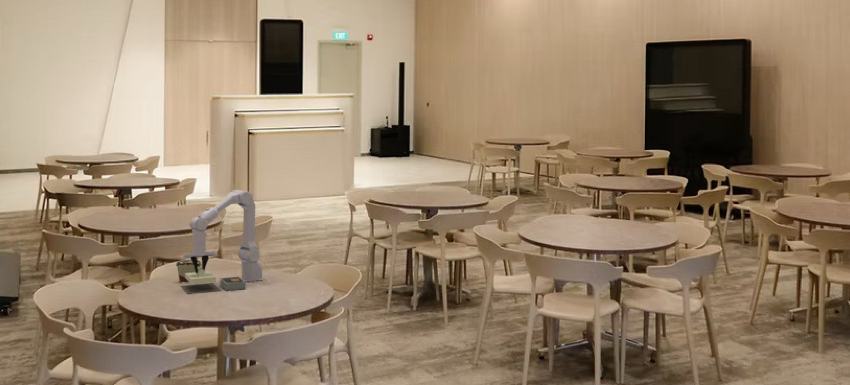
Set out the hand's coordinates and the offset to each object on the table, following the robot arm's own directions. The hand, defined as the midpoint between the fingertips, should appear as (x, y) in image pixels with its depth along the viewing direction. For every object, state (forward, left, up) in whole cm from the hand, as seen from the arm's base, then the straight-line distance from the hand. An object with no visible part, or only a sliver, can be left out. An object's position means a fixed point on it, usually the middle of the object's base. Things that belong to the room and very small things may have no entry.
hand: (200, 272), depth 430 cm
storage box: (-14, +4, -8) cm, 16 cm away
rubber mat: (0, 0, -8) cm, 8 cm away
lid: (0, 0, -3) cm, 3 cm away
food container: (+1, -18, -8) cm, 20 cm away
